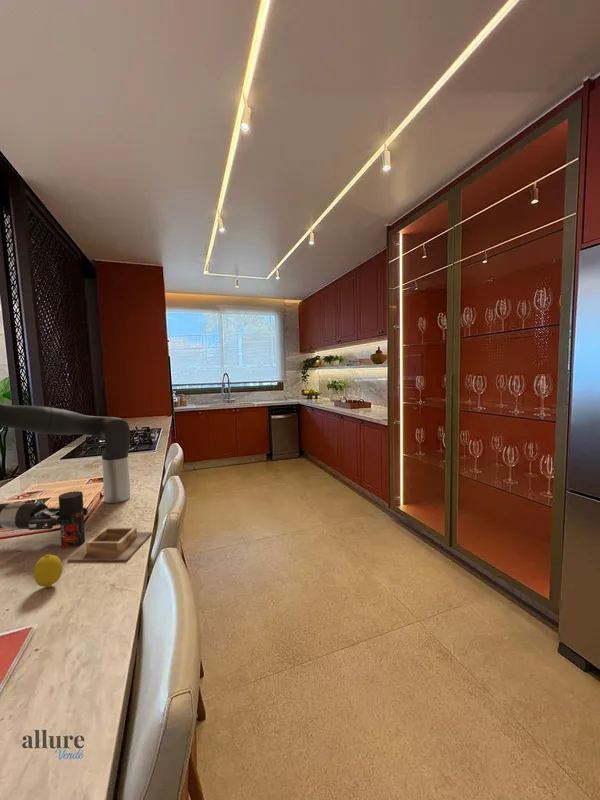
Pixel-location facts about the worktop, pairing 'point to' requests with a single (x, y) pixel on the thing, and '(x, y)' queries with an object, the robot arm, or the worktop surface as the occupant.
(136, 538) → the socket
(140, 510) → the worktop surface
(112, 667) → the worktop surface
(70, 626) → the worktop surface
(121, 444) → the robot arm
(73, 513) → the deodorant
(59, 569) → the lemon
